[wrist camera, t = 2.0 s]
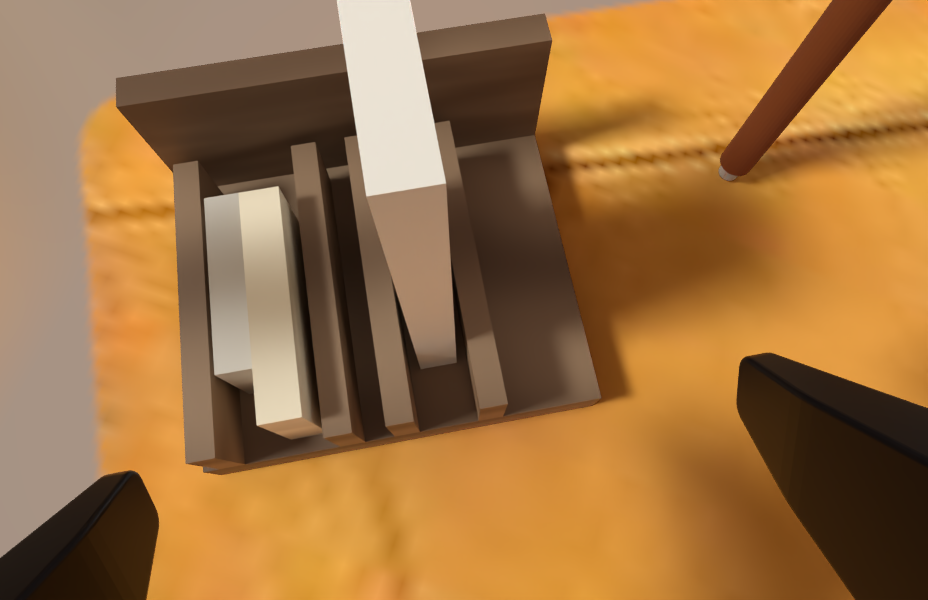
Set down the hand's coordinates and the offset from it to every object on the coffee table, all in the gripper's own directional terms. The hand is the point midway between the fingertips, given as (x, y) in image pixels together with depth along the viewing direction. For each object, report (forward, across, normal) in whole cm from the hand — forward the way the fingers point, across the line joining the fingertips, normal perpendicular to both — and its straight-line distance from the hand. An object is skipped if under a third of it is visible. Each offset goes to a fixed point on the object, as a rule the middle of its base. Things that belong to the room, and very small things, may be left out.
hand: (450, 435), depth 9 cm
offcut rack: (+14, +1, +4) cm, 14 cm away
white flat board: (+12, 0, +4) cm, 12 cm away
